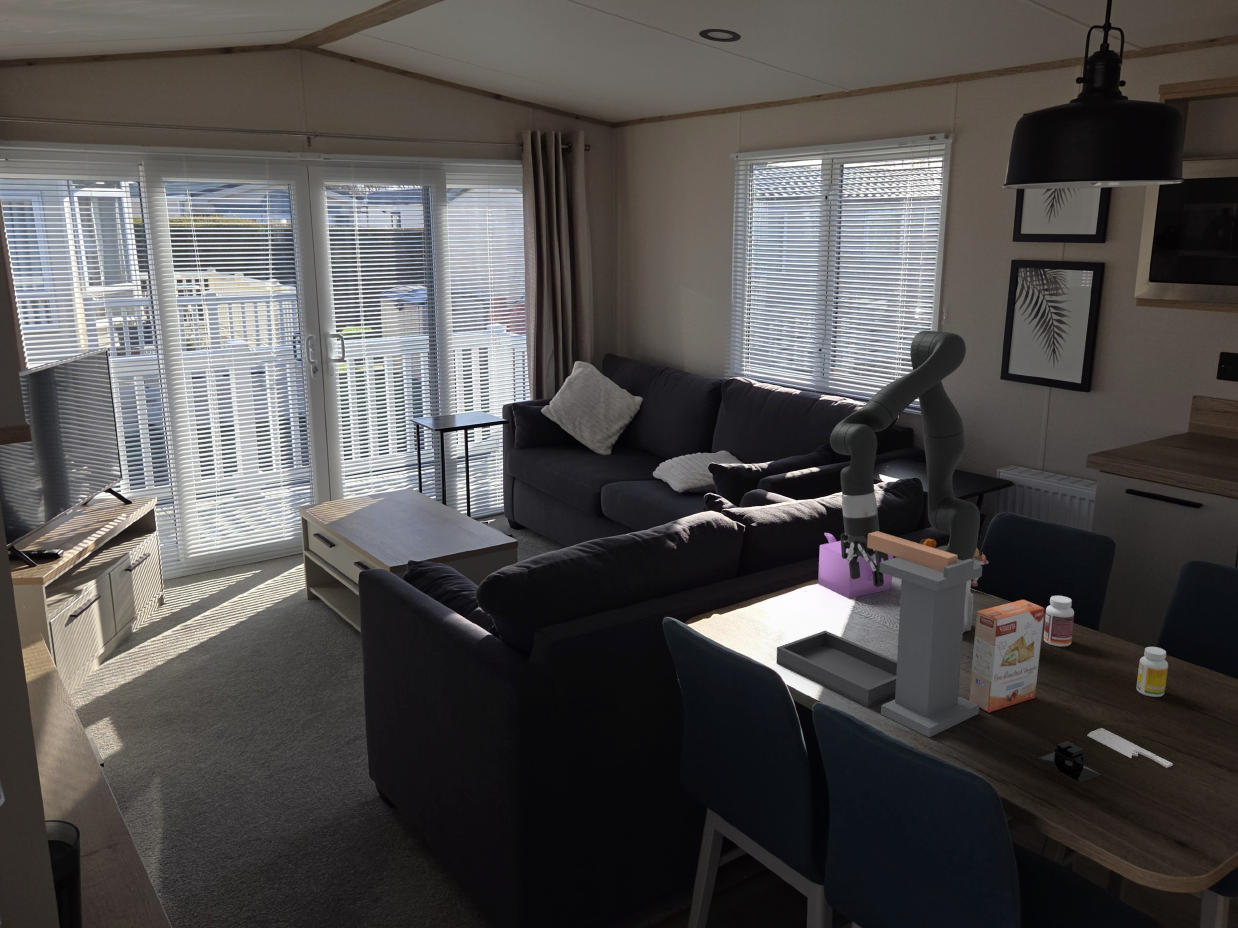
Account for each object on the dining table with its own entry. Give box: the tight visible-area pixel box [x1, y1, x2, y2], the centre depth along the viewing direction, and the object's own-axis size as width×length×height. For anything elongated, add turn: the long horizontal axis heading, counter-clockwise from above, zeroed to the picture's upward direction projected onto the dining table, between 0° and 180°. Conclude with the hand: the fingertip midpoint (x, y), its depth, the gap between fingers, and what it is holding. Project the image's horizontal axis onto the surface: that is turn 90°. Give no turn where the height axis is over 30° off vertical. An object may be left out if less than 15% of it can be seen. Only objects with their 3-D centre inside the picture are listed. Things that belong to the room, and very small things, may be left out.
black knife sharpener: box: [1037, 740, 1101, 783], centre depth 182 cm, size 12×7×5 cm, turn 27°
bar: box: [867, 530, 958, 572], centre depth 200 cm, size 20×3×3 cm, turn 36°
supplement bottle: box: [1136, 646, 1169, 698], centre depth 209 cm, size 5×5×10 cm
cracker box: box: [968, 599, 1046, 713], centre depth 205 cm, size 14×6×21 cm, turn 117°
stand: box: [879, 556, 983, 738], centre depth 200 cm, size 15×16×34 cm
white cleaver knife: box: [1086, 727, 1174, 769], centre depth 188 cm, size 5×15×1 cm, turn 26°
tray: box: [776, 630, 897, 708], centre depth 220 cm, size 27×16×4 cm, turn 35°
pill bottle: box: [1043, 595, 1075, 648], centre depth 235 cm, size 6×6×11 cm
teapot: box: [817, 532, 894, 600], centre depth 274 cm, size 15×25×14 cm, turn 27°
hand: (866, 582), depth 221 cm, fingers open, 8 cm apart
